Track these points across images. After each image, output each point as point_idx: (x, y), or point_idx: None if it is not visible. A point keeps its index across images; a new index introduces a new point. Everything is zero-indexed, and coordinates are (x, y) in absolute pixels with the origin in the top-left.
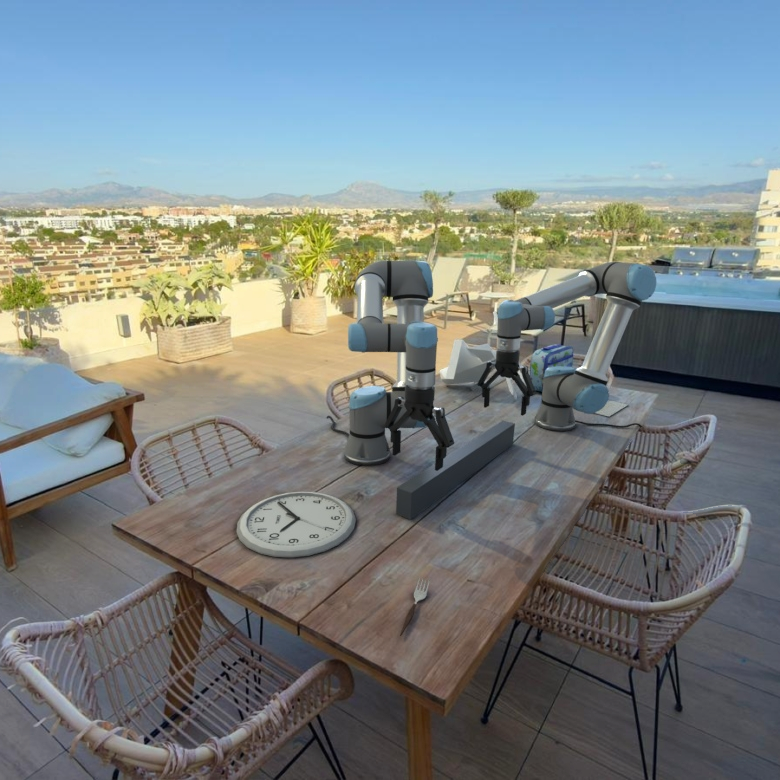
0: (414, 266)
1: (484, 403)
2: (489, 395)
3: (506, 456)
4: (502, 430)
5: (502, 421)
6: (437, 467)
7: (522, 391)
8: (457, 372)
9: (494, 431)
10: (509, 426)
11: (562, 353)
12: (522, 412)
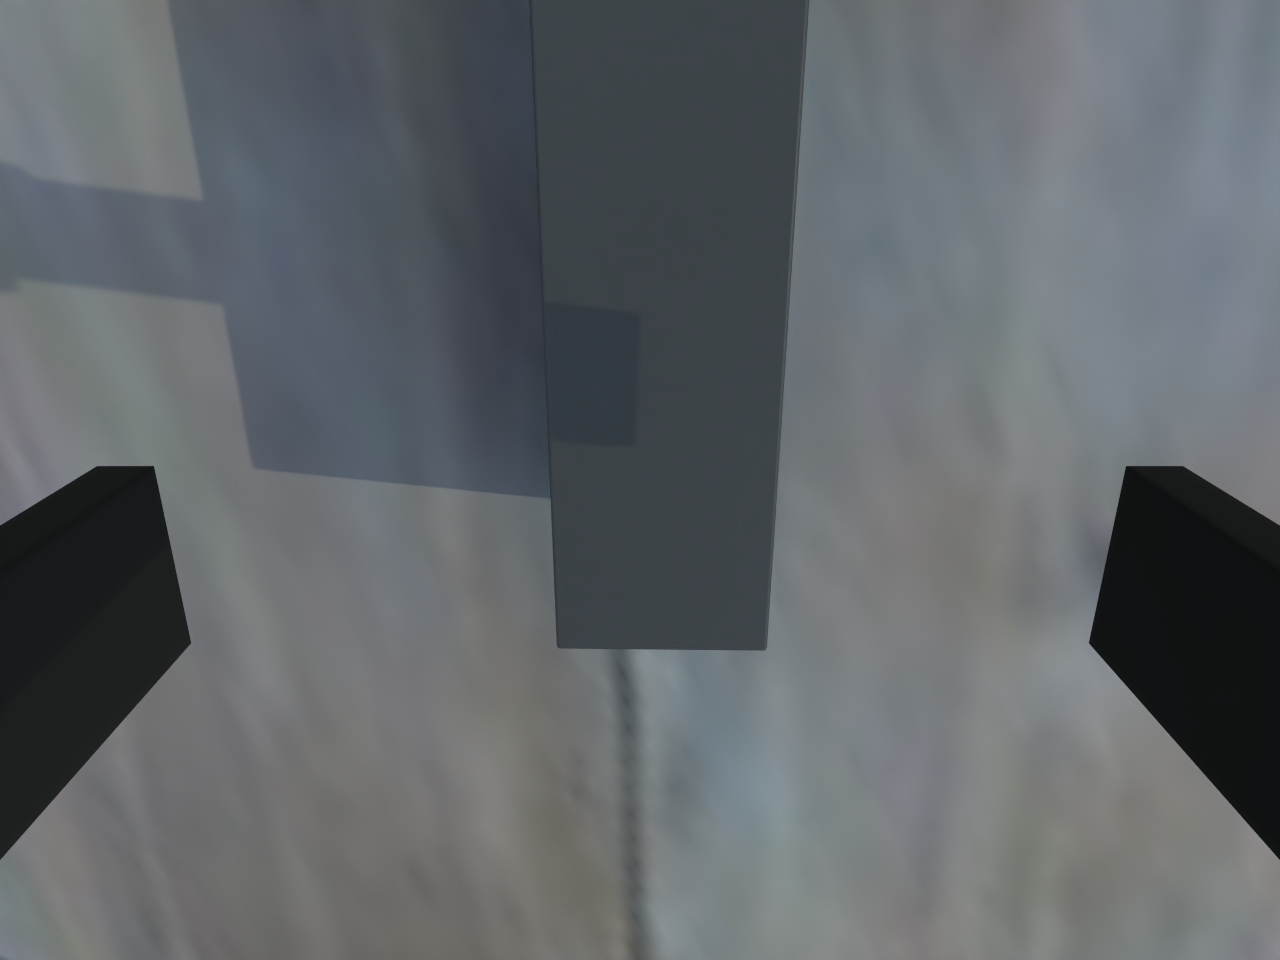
0: None
1: (1236, 510)
2: (1266, 825)
3: (474, 112)
4: (568, 233)
5: (752, 612)
6: None
7: None
8: None
9: (664, 85)
10: (563, 484)
11: None
12: (60, 496)
